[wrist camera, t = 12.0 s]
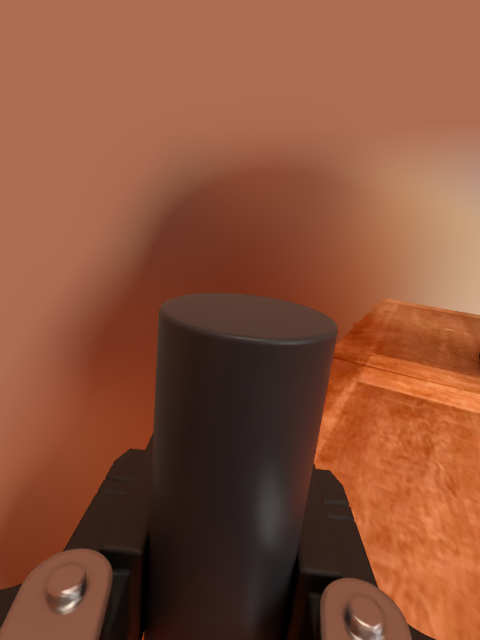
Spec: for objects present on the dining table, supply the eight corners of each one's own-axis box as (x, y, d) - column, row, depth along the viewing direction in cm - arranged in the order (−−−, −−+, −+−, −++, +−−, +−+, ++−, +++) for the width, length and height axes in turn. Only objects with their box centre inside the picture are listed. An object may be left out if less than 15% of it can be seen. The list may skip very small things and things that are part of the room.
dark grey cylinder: (168, 956, 7) (231, 352, 4) (118, 785, 9) (129, 295, 6) (270, 823, 8) (375, 326, 5) (208, 704, 10) (257, 290, 7)
